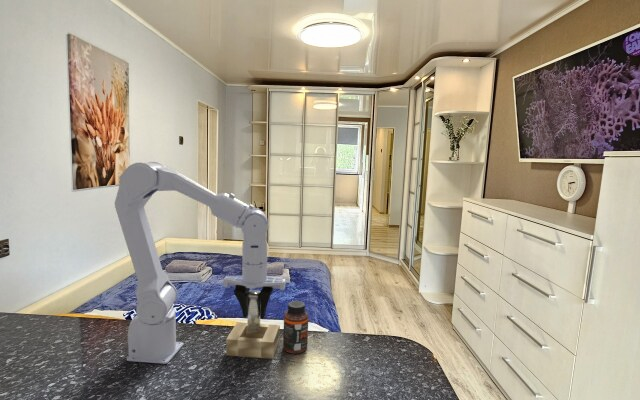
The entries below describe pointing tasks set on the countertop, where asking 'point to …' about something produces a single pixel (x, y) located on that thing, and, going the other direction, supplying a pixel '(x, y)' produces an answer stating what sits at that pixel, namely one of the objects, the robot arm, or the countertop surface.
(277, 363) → the countertop surface
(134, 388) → the countertop surface
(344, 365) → the countertop surface
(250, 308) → the pin
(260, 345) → the hole block
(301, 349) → the supplement bottle
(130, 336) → the robot arm
